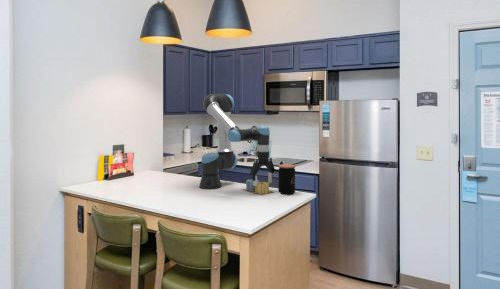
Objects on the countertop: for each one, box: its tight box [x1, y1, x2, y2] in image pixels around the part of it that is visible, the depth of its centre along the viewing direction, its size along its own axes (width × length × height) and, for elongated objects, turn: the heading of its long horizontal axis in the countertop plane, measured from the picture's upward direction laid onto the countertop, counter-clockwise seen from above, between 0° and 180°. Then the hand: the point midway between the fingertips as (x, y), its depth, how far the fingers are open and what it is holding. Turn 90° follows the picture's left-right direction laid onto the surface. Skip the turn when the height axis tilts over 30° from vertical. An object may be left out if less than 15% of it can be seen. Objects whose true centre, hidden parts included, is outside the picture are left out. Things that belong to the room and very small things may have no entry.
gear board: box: [241, 188, 275, 196], centre depth 237 cm, size 20×12×6 cm, turn 42°
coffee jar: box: [278, 163, 296, 196], centre depth 235 cm, size 11×11×18 cm
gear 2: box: [254, 181, 270, 195], centre depth 233 cm, size 9×8×6 cm
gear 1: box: [245, 179, 260, 191], centre depth 241 cm, size 9×8×6 cm
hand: (262, 184), depth 234 cm, fingers open, 13 cm apart
